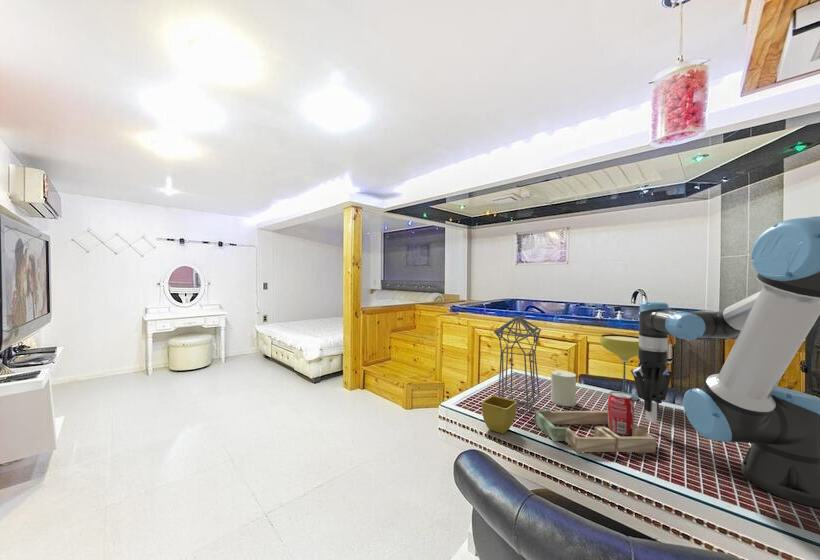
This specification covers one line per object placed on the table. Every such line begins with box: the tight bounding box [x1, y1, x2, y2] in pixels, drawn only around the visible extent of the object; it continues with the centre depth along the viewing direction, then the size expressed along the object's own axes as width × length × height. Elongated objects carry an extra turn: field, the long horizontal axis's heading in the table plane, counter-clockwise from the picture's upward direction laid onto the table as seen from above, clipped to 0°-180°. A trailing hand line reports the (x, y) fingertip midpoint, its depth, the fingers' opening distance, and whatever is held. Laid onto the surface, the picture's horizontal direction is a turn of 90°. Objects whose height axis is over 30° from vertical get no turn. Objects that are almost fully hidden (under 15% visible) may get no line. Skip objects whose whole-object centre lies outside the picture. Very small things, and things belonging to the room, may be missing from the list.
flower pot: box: [480, 395, 518, 434], centre depth 102 cm, size 9×9×9 cm
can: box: [550, 369, 577, 407], centre depth 127 cm, size 9×9×12 cm
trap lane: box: [533, 409, 657, 454], centre depth 99 cm, size 19×29×4 cm, turn 93°
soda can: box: [607, 390, 635, 436], centre depth 102 cm, size 7×7×12 cm
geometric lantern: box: [493, 316, 542, 414], centre depth 121 cm, size 16×16×35 cm
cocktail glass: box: [599, 333, 641, 402], centre depth 134 cm, size 18×18×25 cm
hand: (651, 420), depth 103 cm, fingers closed
